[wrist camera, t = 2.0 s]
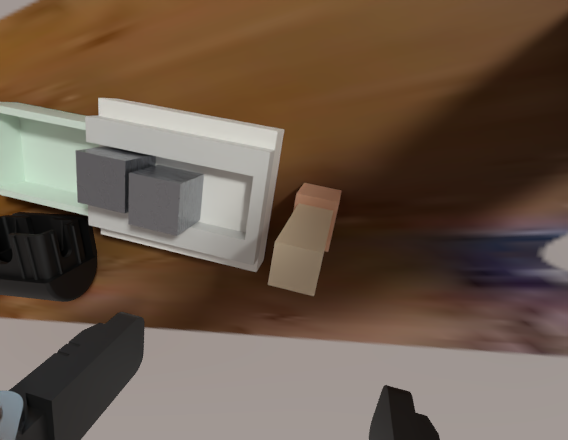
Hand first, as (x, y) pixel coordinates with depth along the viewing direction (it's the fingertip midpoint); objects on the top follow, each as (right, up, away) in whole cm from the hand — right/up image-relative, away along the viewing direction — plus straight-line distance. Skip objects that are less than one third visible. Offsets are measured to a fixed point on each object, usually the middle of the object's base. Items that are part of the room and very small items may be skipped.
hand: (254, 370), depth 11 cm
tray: (-20, +11, +22) cm, 31 cm away
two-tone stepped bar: (+4, +6, +18) cm, 20 cm away
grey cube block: (-8, +7, +18) cm, 21 cm away
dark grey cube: (-12, +9, +18) cm, 23 cm away
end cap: (-23, +2, +25) cm, 34 cm away
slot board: (-7, +8, +20) cm, 23 cm away
